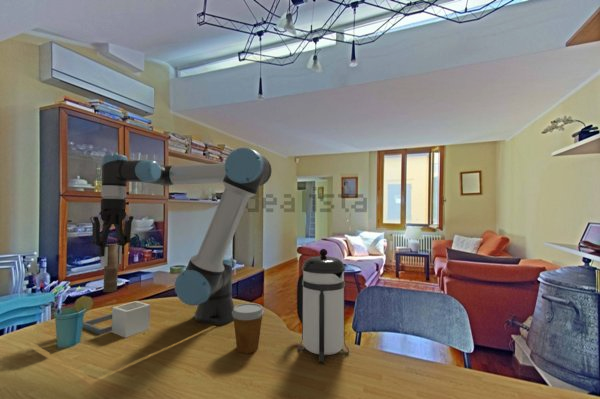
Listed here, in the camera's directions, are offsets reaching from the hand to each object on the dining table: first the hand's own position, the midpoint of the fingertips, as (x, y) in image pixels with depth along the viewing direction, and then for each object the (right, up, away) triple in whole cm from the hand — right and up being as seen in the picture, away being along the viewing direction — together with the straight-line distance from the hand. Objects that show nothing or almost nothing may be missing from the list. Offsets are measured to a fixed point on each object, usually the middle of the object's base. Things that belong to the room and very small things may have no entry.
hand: (111, 264), depth 102 cm
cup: (-3, -21, -16) cm, 27 cm away
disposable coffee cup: (+51, -22, -15) cm, 57 cm away
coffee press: (+72, -22, -16) cm, 77 cm away
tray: (0, -22, -1) cm, 22 cm away
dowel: (0, -9, 0) cm, 9 cm away
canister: (+10, -22, -6) cm, 25 cm away
